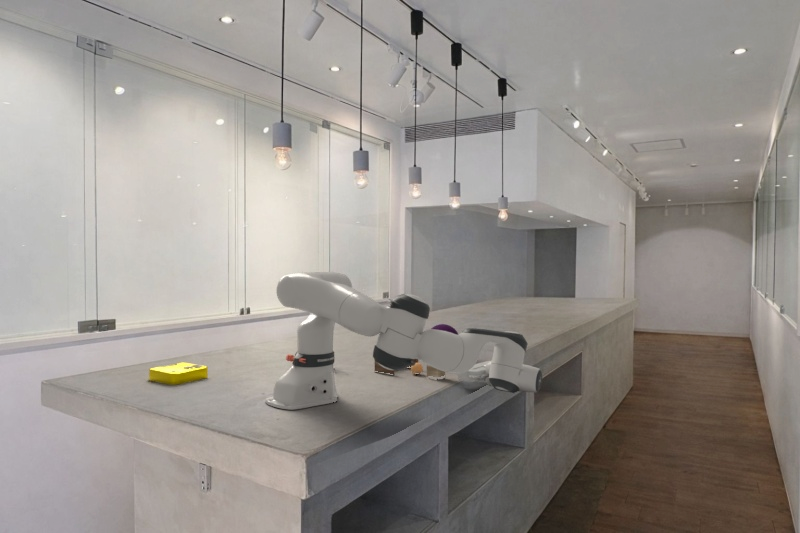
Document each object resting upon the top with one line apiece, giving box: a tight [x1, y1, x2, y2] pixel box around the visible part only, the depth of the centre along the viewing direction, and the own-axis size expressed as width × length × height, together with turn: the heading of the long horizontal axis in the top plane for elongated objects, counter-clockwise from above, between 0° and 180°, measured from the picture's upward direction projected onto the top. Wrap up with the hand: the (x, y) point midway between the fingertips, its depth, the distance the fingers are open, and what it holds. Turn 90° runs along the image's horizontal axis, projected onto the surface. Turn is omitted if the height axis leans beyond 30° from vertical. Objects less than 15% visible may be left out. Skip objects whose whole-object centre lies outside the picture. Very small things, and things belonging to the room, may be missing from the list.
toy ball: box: [430, 323, 459, 335], centre depth 234 cm, size 15×15×15 cm
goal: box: [374, 359, 419, 375], centre depth 208 cm, size 15×9×6 cm, turn 139°
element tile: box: [148, 362, 209, 386], centre depth 191 cm, size 15×15×5 cm
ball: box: [410, 362, 424, 374], centre depth 201 cm, size 4×4×4 cm
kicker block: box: [426, 364, 446, 377], centre depth 195 cm, size 4×5×10 cm
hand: (461, 367), depth 188 cm, fingers open, 8 cm apart
